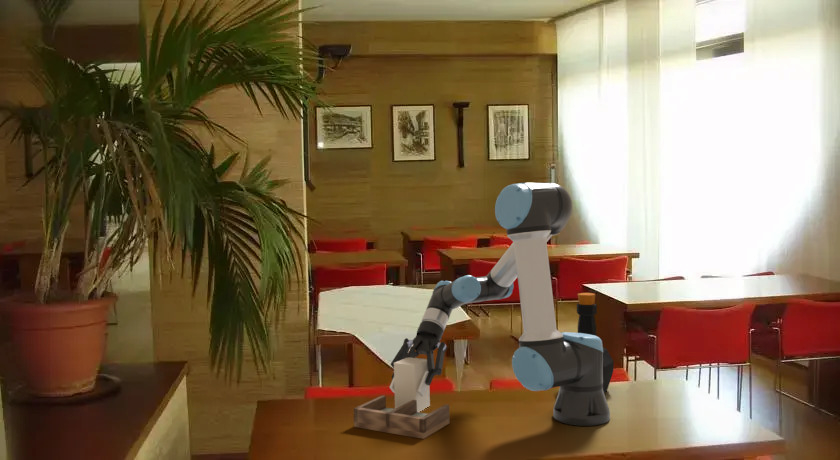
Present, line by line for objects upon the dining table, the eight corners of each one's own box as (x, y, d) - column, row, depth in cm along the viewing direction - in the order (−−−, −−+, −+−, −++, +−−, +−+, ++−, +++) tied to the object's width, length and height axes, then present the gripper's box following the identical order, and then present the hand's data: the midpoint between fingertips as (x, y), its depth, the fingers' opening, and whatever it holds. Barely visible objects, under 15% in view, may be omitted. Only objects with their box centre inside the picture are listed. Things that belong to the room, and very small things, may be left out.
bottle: (616, 384, 236) (616, 290, 235) (610, 399, 221) (609, 298, 219) (566, 381, 242) (565, 289, 240) (556, 394, 227) (555, 296, 225)
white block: (429, 406, 218) (428, 359, 217) (416, 414, 211) (414, 365, 210) (409, 403, 221) (408, 357, 220) (395, 411, 214) (393, 362, 214)
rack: (449, 423, 202) (449, 405, 202) (423, 438, 190) (423, 419, 190) (382, 412, 213) (382, 395, 213) (354, 426, 201) (353, 408, 201)
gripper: (468, 336, 223) (443, 403, 210) (406, 331, 234) (380, 394, 221) (459, 322, 218) (434, 389, 205) (397, 317, 229) (369, 380, 216)
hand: (406, 391), depth 213 cm, fingers open, 9 cm apart
